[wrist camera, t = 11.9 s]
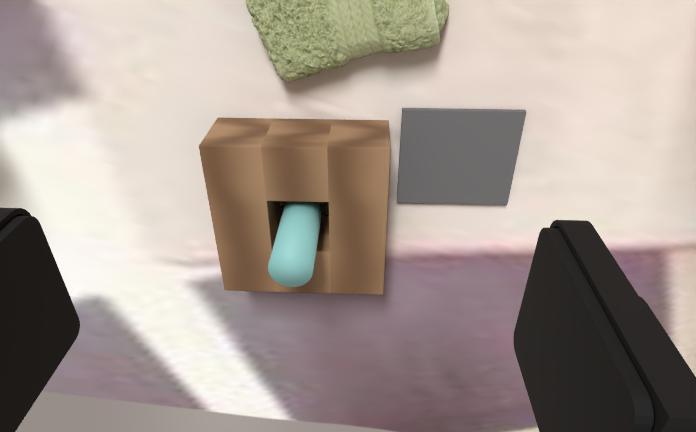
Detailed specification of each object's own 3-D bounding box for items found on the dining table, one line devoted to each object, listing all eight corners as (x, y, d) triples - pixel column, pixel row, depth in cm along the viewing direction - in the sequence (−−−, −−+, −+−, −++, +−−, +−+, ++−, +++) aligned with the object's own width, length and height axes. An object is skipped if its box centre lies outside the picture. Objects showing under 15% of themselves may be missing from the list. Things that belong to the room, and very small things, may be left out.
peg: (324, 177, 41) (311, 252, 32) (325, 208, 42) (313, 287, 34) (287, 176, 41) (265, 251, 33) (290, 207, 43) (270, 286, 34)
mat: (524, 109, 37) (526, 111, 37) (506, 202, 41) (507, 204, 41) (402, 108, 37) (402, 110, 37) (396, 199, 42) (396, 202, 41)
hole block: (388, 120, 38) (390, 149, 34) (382, 256, 45) (382, 294, 41) (217, 117, 38) (198, 146, 34) (238, 253, 45) (224, 290, 41)
